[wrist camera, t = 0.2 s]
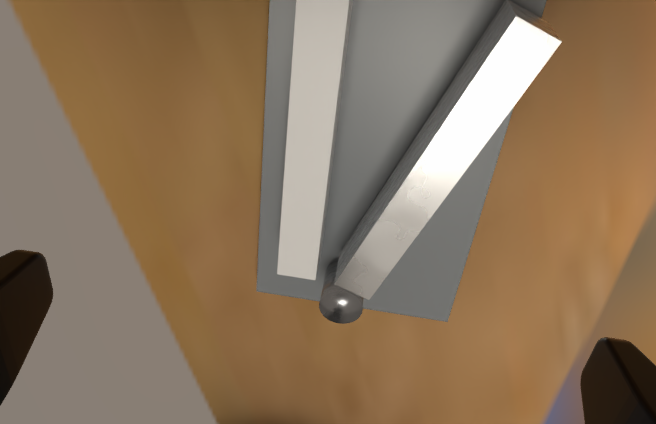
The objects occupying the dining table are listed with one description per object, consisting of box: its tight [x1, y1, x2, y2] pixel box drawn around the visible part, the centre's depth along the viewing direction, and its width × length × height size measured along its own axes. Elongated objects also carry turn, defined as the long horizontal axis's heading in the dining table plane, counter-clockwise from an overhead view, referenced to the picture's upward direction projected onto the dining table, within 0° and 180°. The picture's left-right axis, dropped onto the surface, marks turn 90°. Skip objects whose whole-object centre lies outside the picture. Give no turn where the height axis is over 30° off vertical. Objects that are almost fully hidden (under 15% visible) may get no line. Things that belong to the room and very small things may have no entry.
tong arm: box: [319, 0, 562, 323], centre depth 22 cm, size 14×2×2 cm, turn 154°
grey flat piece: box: [257, 0, 547, 322], centre depth 22 cm, size 16×9×3 cm, turn 174°
